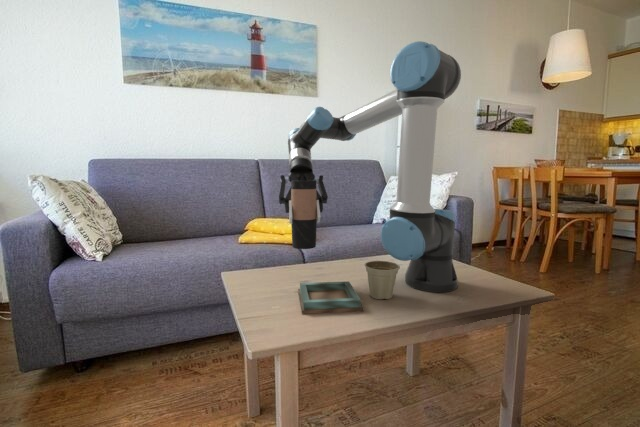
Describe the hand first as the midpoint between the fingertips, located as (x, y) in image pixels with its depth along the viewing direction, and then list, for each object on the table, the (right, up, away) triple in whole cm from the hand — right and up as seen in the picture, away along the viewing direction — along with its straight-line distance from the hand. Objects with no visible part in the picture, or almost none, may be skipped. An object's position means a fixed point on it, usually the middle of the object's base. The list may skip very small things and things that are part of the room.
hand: (304, 220), depth 98 cm
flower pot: (+21, -21, -6) cm, 30 cm away
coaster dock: (+7, -21, -9) cm, 24 cm away
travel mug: (0, -8, +4) cm, 9 cm away
